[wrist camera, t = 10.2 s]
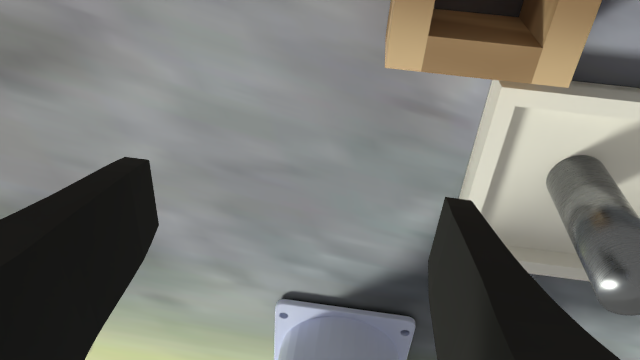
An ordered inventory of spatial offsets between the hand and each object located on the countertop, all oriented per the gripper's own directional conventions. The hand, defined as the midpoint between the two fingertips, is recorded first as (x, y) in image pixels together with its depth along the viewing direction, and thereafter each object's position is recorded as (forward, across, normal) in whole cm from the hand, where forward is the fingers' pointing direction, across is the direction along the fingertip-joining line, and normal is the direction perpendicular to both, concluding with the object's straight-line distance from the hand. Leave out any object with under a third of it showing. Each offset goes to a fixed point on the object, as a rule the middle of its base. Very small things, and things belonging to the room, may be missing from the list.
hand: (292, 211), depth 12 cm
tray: (+10, -11, +4) cm, 15 cm away
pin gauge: (+9, -11, +4) cm, 15 cm away
